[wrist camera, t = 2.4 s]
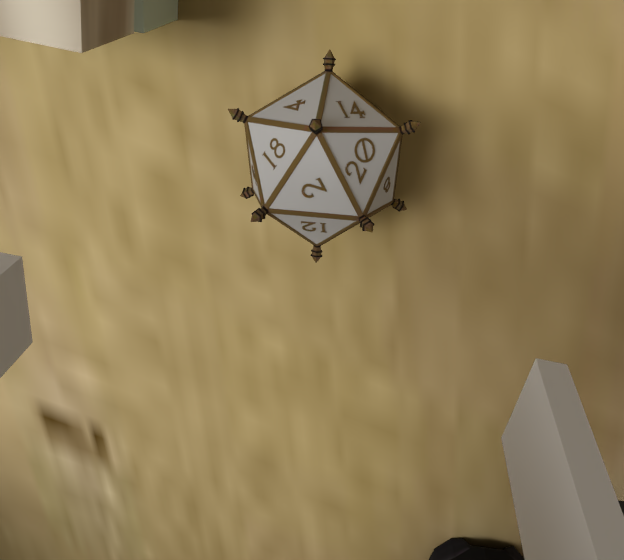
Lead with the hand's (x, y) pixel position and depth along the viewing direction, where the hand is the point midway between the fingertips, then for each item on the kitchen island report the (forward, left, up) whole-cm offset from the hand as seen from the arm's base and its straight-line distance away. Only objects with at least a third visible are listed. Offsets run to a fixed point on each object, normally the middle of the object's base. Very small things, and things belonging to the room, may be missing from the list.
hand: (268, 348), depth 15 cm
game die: (0, 0, -19) cm, 19 cm away
